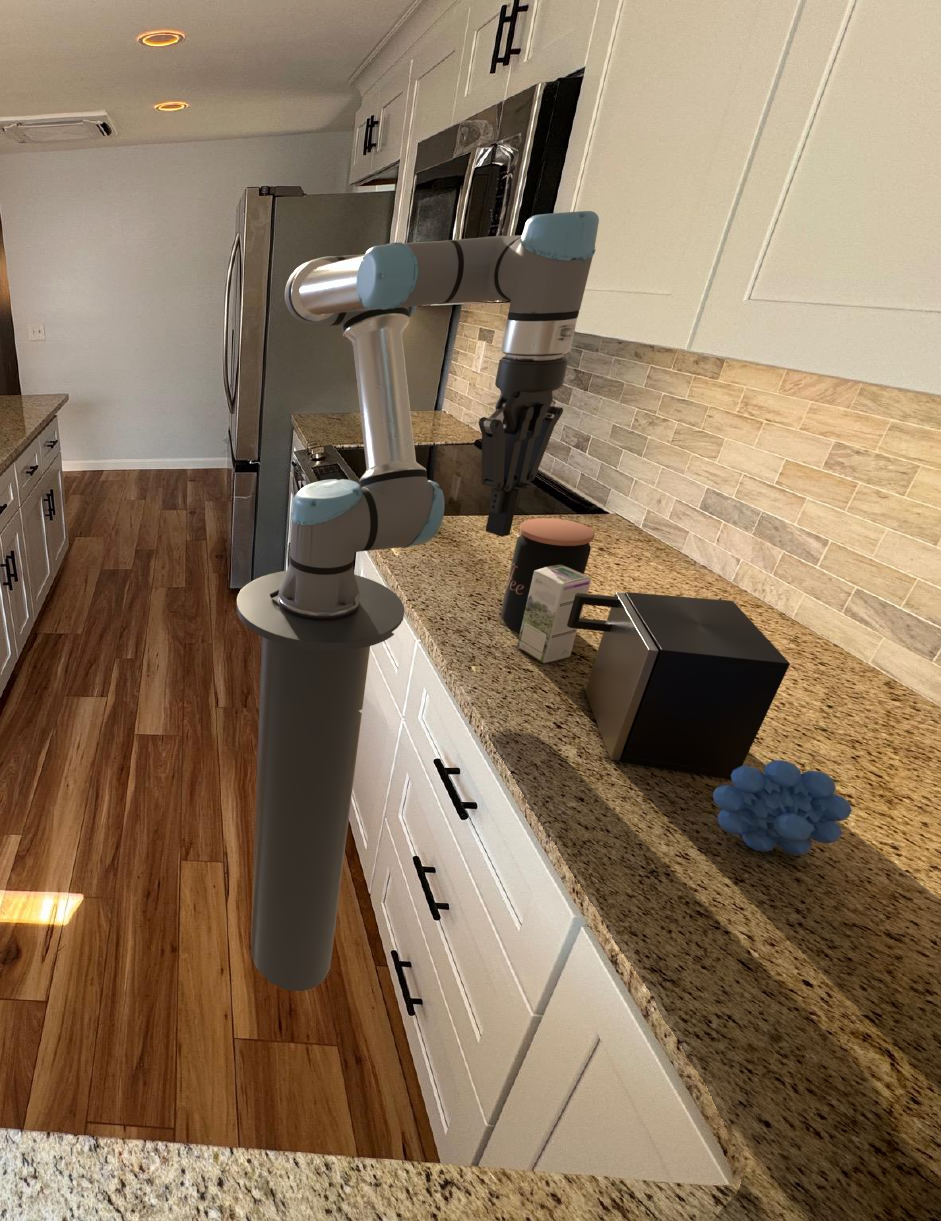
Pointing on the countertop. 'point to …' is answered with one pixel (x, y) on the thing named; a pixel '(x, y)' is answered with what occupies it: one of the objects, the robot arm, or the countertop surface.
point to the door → (616, 666)
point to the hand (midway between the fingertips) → (497, 532)
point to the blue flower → (781, 807)
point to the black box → (701, 685)
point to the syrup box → (551, 613)
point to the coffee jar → (542, 559)
